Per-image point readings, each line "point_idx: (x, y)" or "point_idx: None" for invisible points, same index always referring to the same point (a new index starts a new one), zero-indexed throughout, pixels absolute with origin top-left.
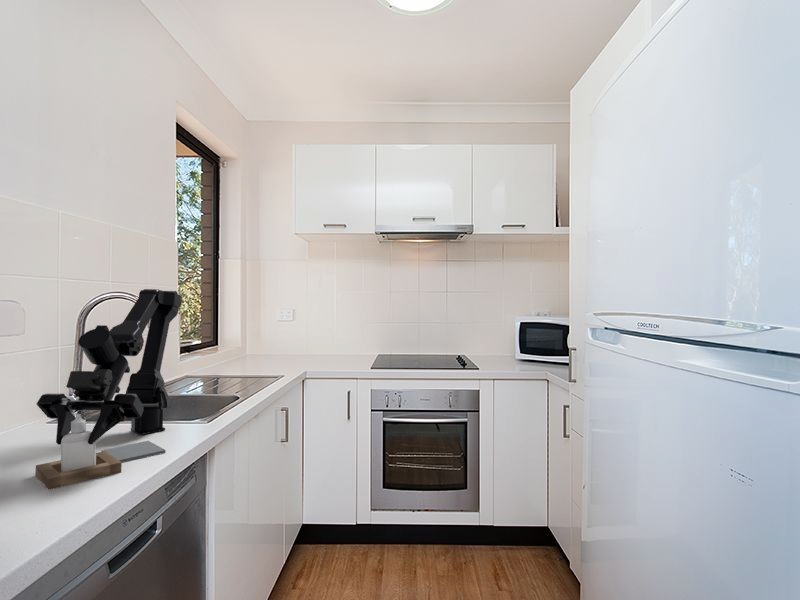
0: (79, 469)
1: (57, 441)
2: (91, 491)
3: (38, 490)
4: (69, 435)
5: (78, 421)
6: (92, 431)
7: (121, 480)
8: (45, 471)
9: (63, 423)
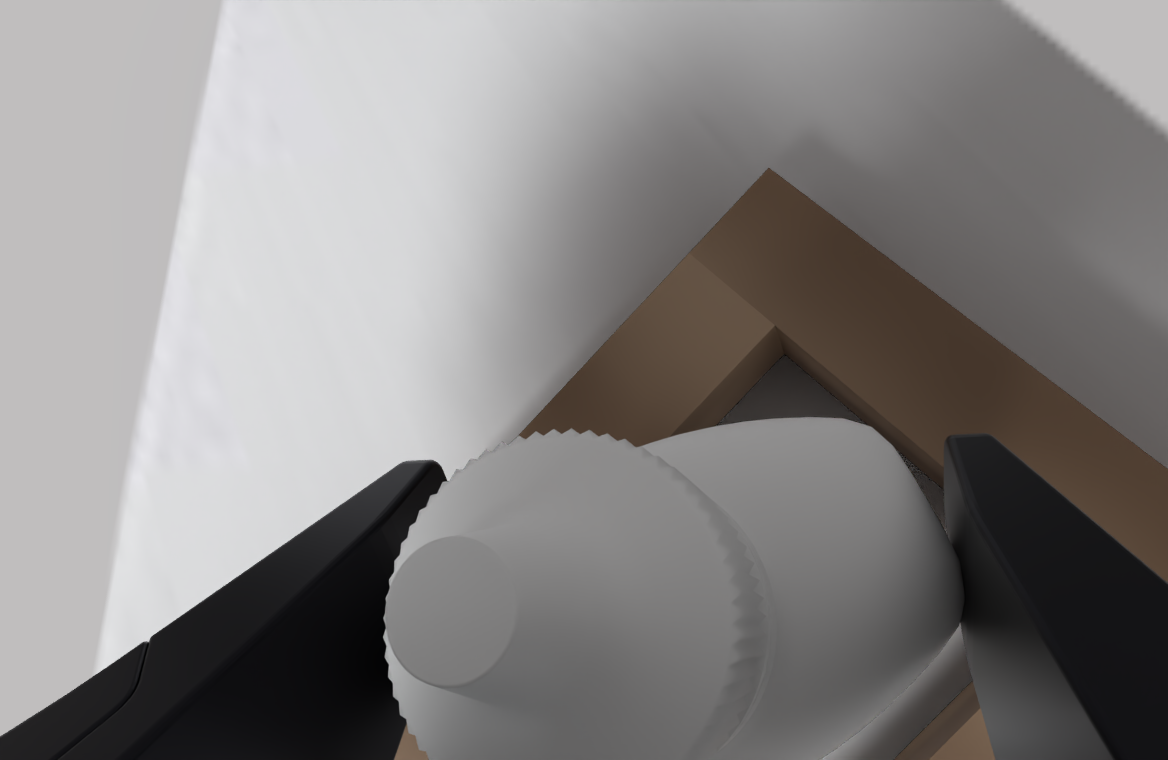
0: (618, 435)
1: (962, 436)
2: (411, 220)
3: (863, 197)
4: (746, 477)
5: (480, 500)
6: (325, 555)
7: (292, 447)
8: (975, 365)
9: (1096, 708)
